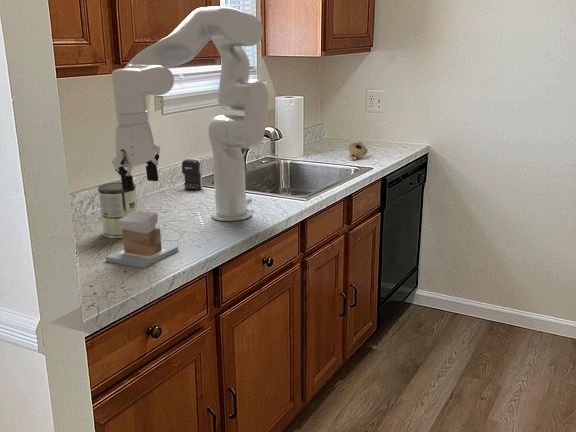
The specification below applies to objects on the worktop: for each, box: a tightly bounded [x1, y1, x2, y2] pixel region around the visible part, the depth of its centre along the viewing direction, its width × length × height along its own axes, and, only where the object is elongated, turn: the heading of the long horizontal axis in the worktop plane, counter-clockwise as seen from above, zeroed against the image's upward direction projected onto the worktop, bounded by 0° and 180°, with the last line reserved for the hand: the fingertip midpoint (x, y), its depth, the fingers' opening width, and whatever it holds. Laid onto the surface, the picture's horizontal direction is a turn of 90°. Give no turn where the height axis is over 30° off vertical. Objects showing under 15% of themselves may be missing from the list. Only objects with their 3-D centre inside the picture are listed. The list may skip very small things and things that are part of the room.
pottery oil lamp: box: [347, 141, 369, 159], centre depth 279 cm, size 9×12×7 cm
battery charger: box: [181, 158, 203, 191], centre depth 224 cm, size 7×4×11 cm, turn 67°
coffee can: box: [97, 181, 138, 239], centre depth 172 cm, size 10×10×14 cm
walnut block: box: [122, 227, 162, 256], centre depth 154 cm, size 5×8×6 cm, turn 63°
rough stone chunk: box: [119, 210, 159, 233], centre depth 153 cm, size 10×6×6 cm, turn 57°
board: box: [105, 243, 179, 269], centre depth 155 cm, size 14×12×1 cm
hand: (141, 185), depth 155 cm, fingers open, 9 cm apart
